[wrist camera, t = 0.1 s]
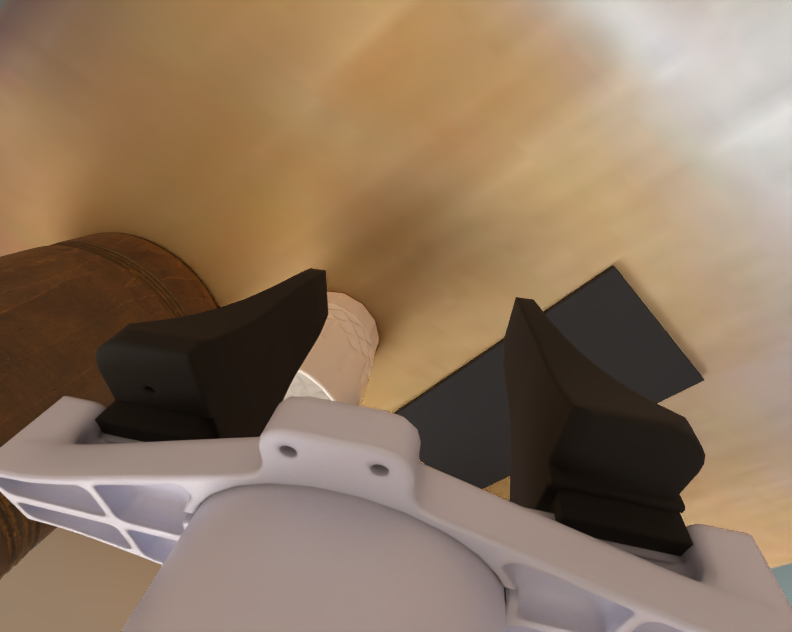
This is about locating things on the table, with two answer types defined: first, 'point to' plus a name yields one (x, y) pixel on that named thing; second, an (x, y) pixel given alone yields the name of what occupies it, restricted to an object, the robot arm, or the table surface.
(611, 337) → the mat
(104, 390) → the wooden container
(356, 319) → the white cup
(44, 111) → the table surface
